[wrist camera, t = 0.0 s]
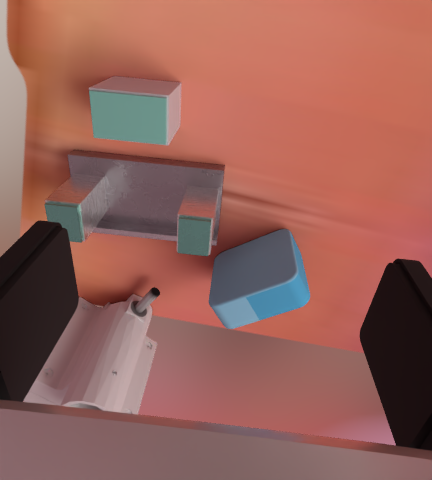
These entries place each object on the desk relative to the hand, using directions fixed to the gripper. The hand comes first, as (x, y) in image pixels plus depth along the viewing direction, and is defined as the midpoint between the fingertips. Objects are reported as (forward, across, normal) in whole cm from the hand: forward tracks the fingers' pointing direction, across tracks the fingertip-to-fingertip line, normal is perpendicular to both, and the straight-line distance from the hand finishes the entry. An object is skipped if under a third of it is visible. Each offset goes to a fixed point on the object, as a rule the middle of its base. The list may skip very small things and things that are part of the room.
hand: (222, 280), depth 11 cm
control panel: (+37, +15, +38) cm, 55 cm away
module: (+37, +11, +3) cm, 39 cm away
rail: (+37, +11, +15) cm, 41 cm away
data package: (+37, -5, +23) cm, 44 cm away
